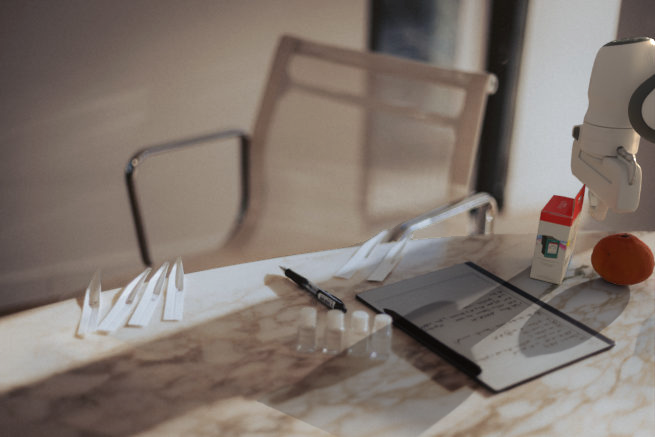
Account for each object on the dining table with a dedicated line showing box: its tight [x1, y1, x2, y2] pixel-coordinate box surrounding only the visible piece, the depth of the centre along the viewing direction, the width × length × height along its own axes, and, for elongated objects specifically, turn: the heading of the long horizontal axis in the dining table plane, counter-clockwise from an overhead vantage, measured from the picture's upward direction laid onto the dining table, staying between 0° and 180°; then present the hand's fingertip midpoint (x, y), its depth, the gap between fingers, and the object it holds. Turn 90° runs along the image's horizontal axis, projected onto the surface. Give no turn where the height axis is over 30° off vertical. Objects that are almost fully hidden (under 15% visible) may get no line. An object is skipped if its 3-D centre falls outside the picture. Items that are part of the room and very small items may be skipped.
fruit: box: [590, 232, 655, 286], centre depth 98 cm, size 9×9×8 cm
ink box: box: [529, 184, 587, 285], centre depth 99 cm, size 8×5×15 cm, turn 149°
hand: (596, 217), depth 107 cm, fingers closed
